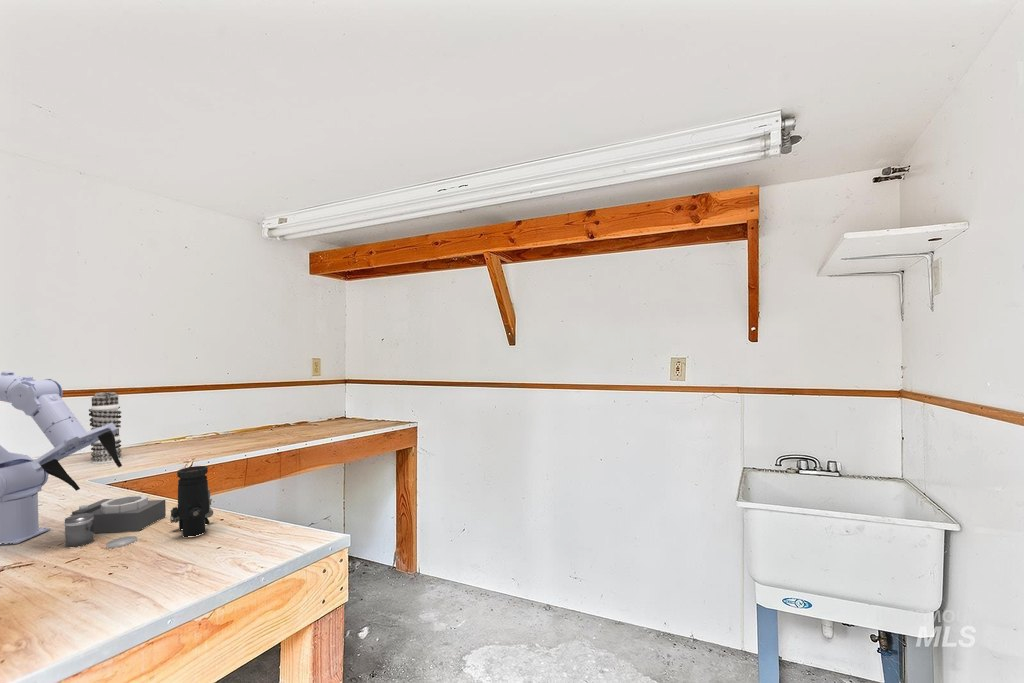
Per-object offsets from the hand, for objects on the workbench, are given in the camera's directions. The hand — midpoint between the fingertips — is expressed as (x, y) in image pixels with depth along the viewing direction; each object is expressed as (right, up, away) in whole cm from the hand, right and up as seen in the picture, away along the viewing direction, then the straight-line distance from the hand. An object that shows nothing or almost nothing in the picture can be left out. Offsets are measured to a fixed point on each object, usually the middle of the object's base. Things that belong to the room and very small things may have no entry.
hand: (99, 476), depth 102 cm
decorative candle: (-61, -15, +76) cm, 99 cm away
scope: (+18, -13, +2) cm, 23 cm away
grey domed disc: (+7, -13, -2) cm, 15 cm away
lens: (-2, -13, -2) cm, 14 cm away
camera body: (-1, -13, +8) cm, 16 cm away
